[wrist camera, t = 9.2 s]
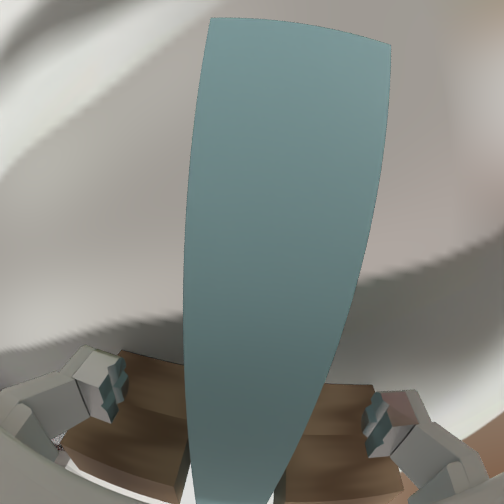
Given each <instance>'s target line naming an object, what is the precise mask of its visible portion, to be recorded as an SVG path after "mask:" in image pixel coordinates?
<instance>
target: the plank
mask: <svg viewBox="0 0 504 504" xmlns="http://www.w3.org/2000/svg"><path fill="white" fill-rule="evenodd" d="M390 69H391V45H389V44H386V43H383V42H380V41H376V40H373V39H369V38H367V37H363V36H359V35H355V34H352V33H347V32H343V31H339V30H334V29H330V28H325V27H319V26H313V25H308V24H301V23H294V22H286V21H278V20H267V19H253V18H211V19H210V24H209V29H208V35H207V40H206V46H205V51H204V58H203V63H202V69H201V76H200V83H199V89H198V96H197V104H196V112H195V120H194V129H193V137H192V147H191V156H190V167H189V180H188V192H187V207H186V224H185V245H184V278H183V345H184V376H185V397H186V413H187V426H188V438H189V449H190V459H191V468H192V477H193V485H194V492H195V500H196V504H267V502H268V500H269V498H270V497H271V495H272V493H273V491H274V490H275V488H276V486H277V484H278V482H279V480H280V479H281V477H282V475H283V473H284V471H285V469H286V467H287V465H288V463H289V461H290V459H291V457H292V455H293V453H294V451H295V449H296V447H297V445H298V443H299V441H300V439H301V436H302V434H303V432H304V430H305V428H306V425H307V423H308V421H309V419H310V416H311V414H312V412H313V409H314V407H315V405H316V402H317V400H318V397H319V395H320V392H321V390H322V387H323V385H324V382H325V380H326V377H327V374H328V372H329V369H330V366H331V364H332V361H333V358H334V355H335V352H336V349H337V347H338V344H339V341H340V338H341V335H342V332H343V329H344V325H345V322H346V319H347V316H348V313H349V309H350V306H351V303H352V299H353V296H354V292H355V289H356V285H357V281H358V278H359V274H360V270H361V266H362V262H363V257H364V254H365V250H366V245H367V241H368V237H369V232H370V227H371V222H372V218H373V213H374V208H375V202H376V197H377V191H378V185H379V179H380V173H381V167H382V159H383V152H384V144H385V136H386V126H387V117H388V106H389V91H390V71H391V70H390Z"/></svg>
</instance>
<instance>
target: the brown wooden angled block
mask: <svg viewBox="0 0 504 504" xmlns="http://www.w3.org/2000/svg"><path fill="white" fill-rule="evenodd" d="M118 356H120V357H122V358H124V359H125V363H126V368H125V369H124V371H125V373H126V374H127V375H128V377H129V390H128V394H127V396H126V398H125V400H124V401H123V402H121V403H119V404H118V408H119V411H118V413H117V415H116V416H115V418H114V420H113V422H112V424H111V423H108V422H105V421H102V420H100V419H97V418H94V417H92V416H90V417H89V418H87V419H86V420H84V421H82V422H81V423H79V424H77V425H76V426H74V427H72V428H70V429H69V430H68V431H67V432H66V434H65V435H64V437H63V439H62V440H61V442H60V444H61V445H62V447H63V448H64V450H65V451H66V452H67V454H68V455H69V457H70V458H71V459H72V461H73V462H74V463H75V465H76V466H77V467H78V469H79V470H81V471H83V472H85V473H87V474H90V475H92V476H94V477H96V478H99V479H101V480H103V481H106V482H108V483H110V484H113V485H115V486H118V487H121V488H123V489H126V490H129V491H132V492H135V493H138V494H141V495H144V496H147V497H150V498H153V499H157V500H160V501H164V502H168V503H171V504H180V501H181V497H182V493H183V490H184V486H185V482H186V478H187V474H188V471H189V467H190V463H191V459H190V449H189V438H188V426H187V413H186V397H185V376H184V365H179V364H175V363H170V362H166V361H162V360H158V359H153V358H149V357H146V356H142V355H138V354H134V353H130V352H127V351H123V350H121V351H120V353H119V354H118ZM374 393H375V391H374V388H373V385H343V384H324V385H323V387H322V390H321V392H320V395H319V397H318V400H317V402H316V405H315V407H314V409H313V412H312V414H311V416H310V419H309V421H308V423H307V425H306V428H305V430H304V432H303V434H302V436H301V439H300V441H299V443H298V445H297V447H296V449H295V451H294V453H293V455H292V457H291V459H290V461H289V463H288V465H287V467H286V469H285V471H284V473H283V475H282V477H281V479H280V480H279V482H278V484H277V486H276V488H275V490H274V502H273V504H387V503H389V502H390V501H391V500H393V499H394V498H395V497H397V496H398V495H399V494H400V493H402V492H403V491H404V487H403V483H402V479H401V476H400V472H399V468H398V466H397V465H396V464H395V463H394V461H393V460H392V459H391V458H390V456H385V457H374V458H368V456H367V451H366V447H365V441H366V440H367V437H366V436H365V435H364V434H363V433H362V429H361V418H362V414H363V412H364V410H365V408H366V407H368V406H369V405H371V404H372V402H371V398H372V396H373V394H374Z"/></svg>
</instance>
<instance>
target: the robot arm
mask: <svg viewBox="0 0 504 504" xmlns="http://www.w3.org/2000/svg"><path fill="white" fill-rule="evenodd" d="M125 368H126V363H125V359H124V358H122V357H120V356H117V355H114V354H111V353H108V352H105V351H102V350H99V349H96V348H93V347H90V346H88V345H83V346H81V347H80V349H79V350H78V351H77V352H76V353H75V354H74V355H73V357H72V358H71V359H70V360H69V361H68V362H67V363H66V365H65V366H64V367H63V368H62V369H61V371H60V372H57V371H54V372H51V373H49V374H46V375H43V376H40V377H37V378H34V379H31V380H28V381H25V382H23V383H20V384H17V385H14V386H11V387H7V388H4V389H3V390H2V391H1V392H0V504H149V503H146V502H143V501H140V500H137V499H134V498H131V497H128V496H125V495H123V494H120V493H117V492H115V491H112V490H110V489H107V488H105V487H103V486H100V485H98V484H96V483H94V482H91V481H89V480H87V479H85V478H83V477H81V476H79V475H77V474H75V473H73V472H71V471H69V470H67V469H65V468H63V467H62V466H60V465H58V464H56V463H55V462H54V461H55V460H56V458H57V456H58V454H59V452H58V449H57V448H56V447H55V445H54V444H53V442H52V441H51V439H53V438H55V437H56V436H58V435H60V434H62V433H64V432H65V431H67V430H69V429H70V428H72V427H74V426H76V425H77V424H79V423H81V422H82V421H84V420H86V419H87V418H89V417H90V416H92V417H94V418H97V419H100V420H102V421H105V422H108V423H111V424H112V422H113V420H114V418H115V416H116V415H117V413H118V411H119V408H118V404H119V403H121V402H123V401H124V400H125V398H126V396H127V394H128V390H129V377H128V375H127V374H126V373H125V371H124V369H125ZM371 402H372V404H371V405H369V406H368V407H366V408H365V410H364V412H363V414H362V418H361V429H362V433H363V434H364V435H365V436H366V437H367V440H366V441H365V447H366V451H367V456H368V458H374V457H385V456H390V458H391V459H392V460H393V461H394V463H395V464H396V465H397V466H398V467H399V468H400V469H401V470H402V471H403V472H404V473H405V474H406V476H407V477H408V478H409V479H410V480H411V481H412V482H413V483H414V484H415V485H416V486H417V487H418V489H419V490H418V491H416V492H415V493H414V494H413V495H411V496H410V497H409V499H408V504H504V472H502V473H501V474H499V475H497V476H495V477H493V478H491V479H489V477H488V474H487V472H486V469H485V467H484V465H483V462H482V460H481V458H480V456H479V454H478V452H476V451H475V450H473V449H472V448H471V447H469V446H468V445H466V444H465V443H464V442H462V441H461V440H459V439H458V438H457V437H455V436H454V435H452V434H451V433H450V432H448V431H447V430H446V429H444V428H443V427H441V426H440V425H439V424H437V423H436V422H431V419H430V417H429V415H428V413H427V411H426V409H425V406H424V404H423V402H422V400H421V398H420V396H419V394H418V392H417V391H416V390H415V389H414V390H402V391H401V390H399V391H377V392H376V393H374V394H373V396H372V398H371Z"/></svg>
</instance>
